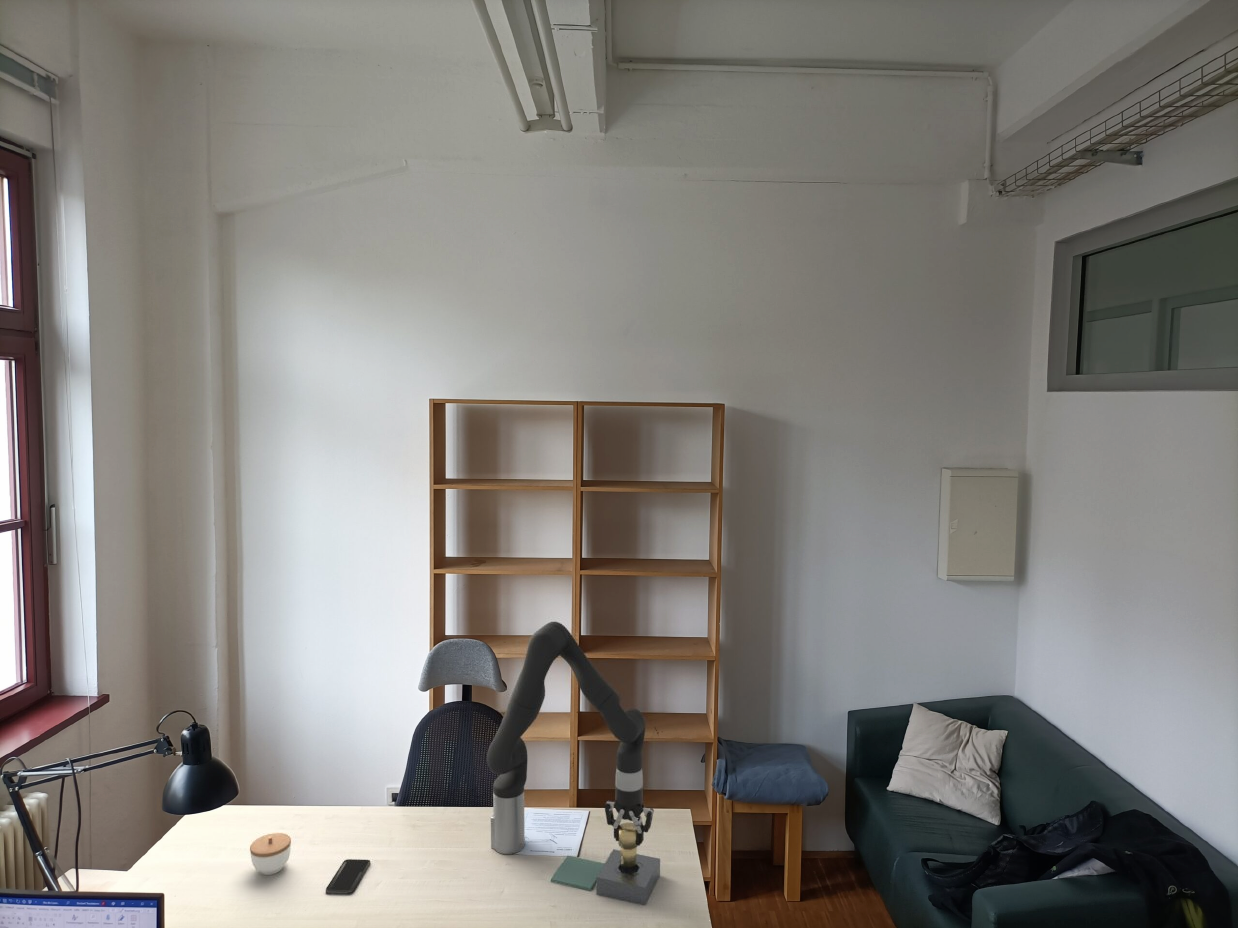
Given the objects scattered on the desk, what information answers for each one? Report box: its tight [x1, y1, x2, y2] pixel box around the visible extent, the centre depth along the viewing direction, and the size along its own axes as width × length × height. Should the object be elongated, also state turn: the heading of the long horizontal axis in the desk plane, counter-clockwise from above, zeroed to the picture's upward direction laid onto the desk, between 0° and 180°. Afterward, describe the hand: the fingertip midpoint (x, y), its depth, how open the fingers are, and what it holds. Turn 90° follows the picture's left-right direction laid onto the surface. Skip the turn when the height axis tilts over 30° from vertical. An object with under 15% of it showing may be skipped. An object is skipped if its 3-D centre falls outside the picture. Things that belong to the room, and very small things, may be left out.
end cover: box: [618, 822, 639, 867], centre depth 220 cm, size 6×6×10 cm
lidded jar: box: [249, 832, 292, 876], centre depth 227 cm, size 11×11×9 cm
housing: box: [595, 849, 661, 906], centre depth 220 cm, size 14×14×5 cm
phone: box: [325, 858, 371, 896], centre depth 224 cm, size 8×1×15 cm
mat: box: [550, 855, 605, 892], centre depth 226 cm, size 12×12×1 cm
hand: (628, 841), depth 220 cm, fingers closed on end cover, 5 cm apart
